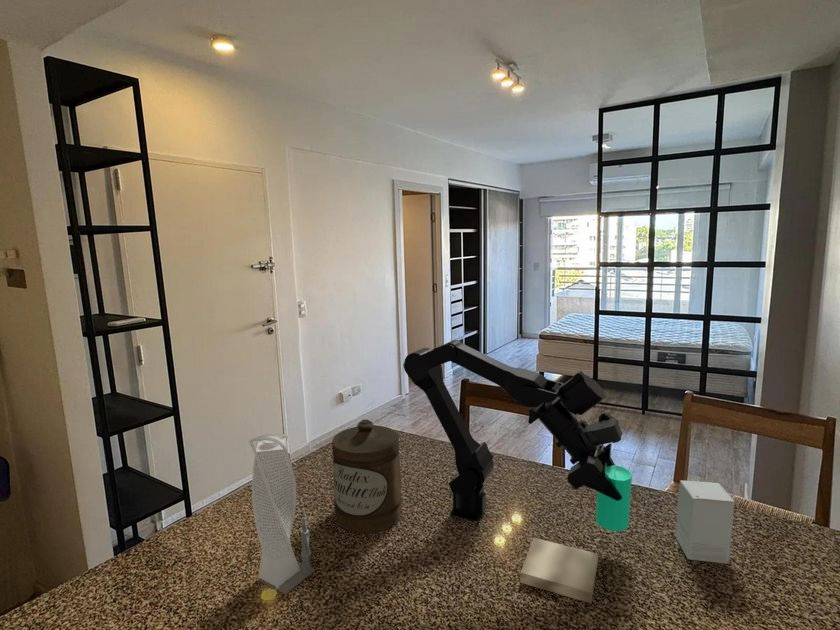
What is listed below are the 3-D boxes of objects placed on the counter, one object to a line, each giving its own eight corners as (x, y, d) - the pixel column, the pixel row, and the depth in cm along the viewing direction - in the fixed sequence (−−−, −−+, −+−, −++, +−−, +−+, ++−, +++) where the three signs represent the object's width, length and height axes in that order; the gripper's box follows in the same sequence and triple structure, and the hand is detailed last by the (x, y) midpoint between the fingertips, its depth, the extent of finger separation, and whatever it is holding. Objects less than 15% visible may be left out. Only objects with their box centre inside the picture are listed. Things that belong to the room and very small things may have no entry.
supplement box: (730, 564, 89) (736, 502, 87) (686, 560, 90) (692, 498, 88) (714, 540, 96) (719, 482, 94) (674, 536, 97) (678, 478, 95)
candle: (627, 516, 94) (631, 459, 93) (629, 534, 89) (634, 474, 87) (595, 511, 96) (598, 455, 94) (595, 528, 91) (599, 469, 89)
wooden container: (322, 525, 102) (317, 428, 99) (356, 491, 116) (353, 405, 113) (383, 540, 97) (381, 438, 94) (412, 503, 111) (410, 413, 107)
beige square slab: (520, 582, 85) (520, 572, 84) (533, 546, 94) (533, 537, 94) (591, 603, 80) (592, 592, 79) (597, 563, 89) (597, 553, 89)
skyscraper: (278, 600, 81) (268, 444, 77) (247, 582, 85) (236, 434, 81) (314, 571, 88) (306, 427, 84) (283, 556, 92) (275, 419, 88)
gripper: (589, 420, 83) (655, 495, 79) (602, 390, 99) (657, 451, 96) (542, 454, 87) (602, 525, 84) (562, 420, 104) (613, 478, 100)
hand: (621, 492), depth 91 cm, fingers closed on candle, 5 cm apart
